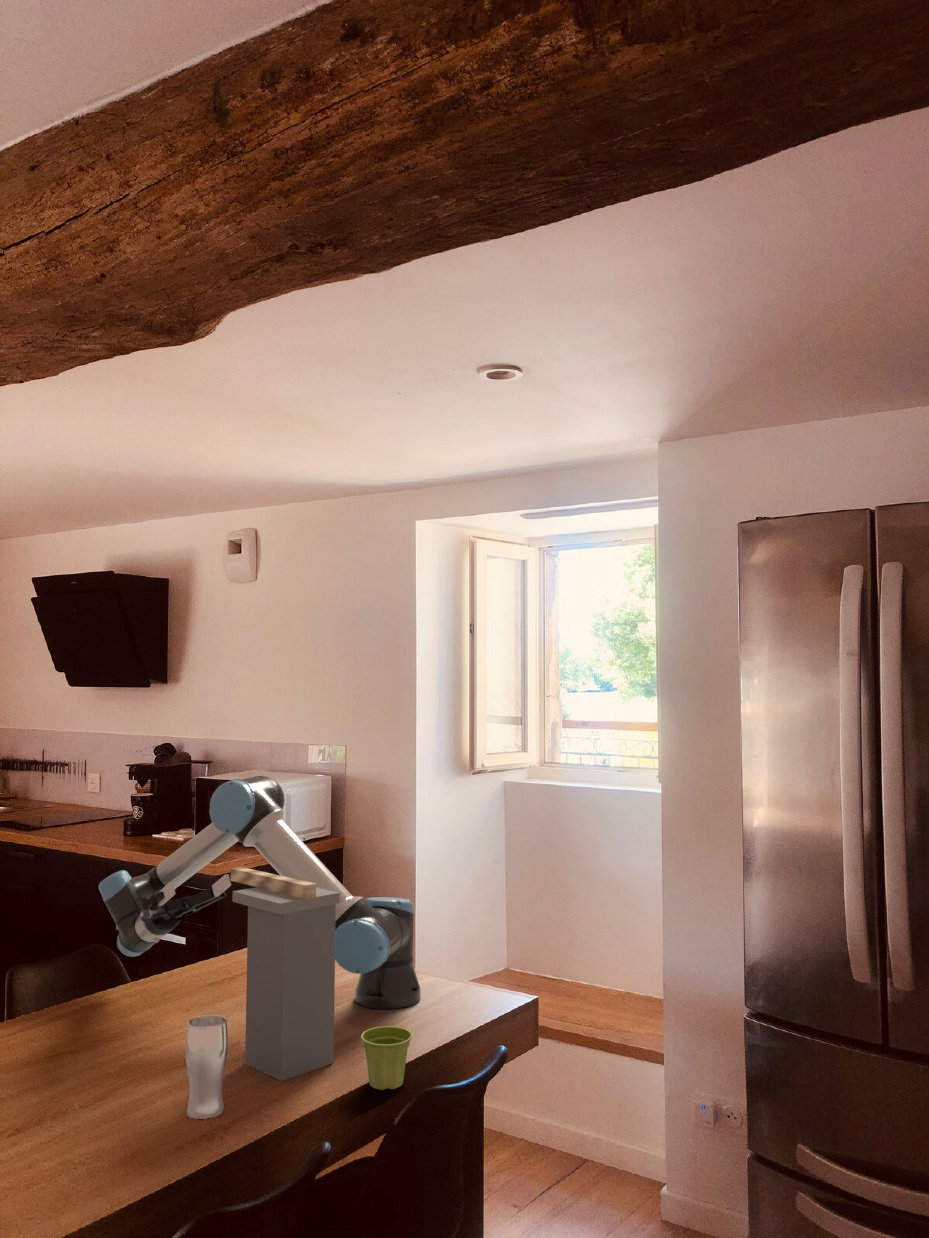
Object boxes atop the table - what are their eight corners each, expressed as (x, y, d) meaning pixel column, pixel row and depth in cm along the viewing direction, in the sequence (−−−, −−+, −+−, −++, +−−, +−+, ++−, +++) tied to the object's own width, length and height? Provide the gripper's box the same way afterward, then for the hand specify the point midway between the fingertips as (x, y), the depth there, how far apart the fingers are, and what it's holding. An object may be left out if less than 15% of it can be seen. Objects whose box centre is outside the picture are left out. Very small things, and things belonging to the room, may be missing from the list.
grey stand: (229, 1059, 187) (232, 891, 189) (289, 1041, 197) (291, 881, 199) (276, 1082, 176) (279, 903, 178) (337, 1061, 186) (339, 892, 188)
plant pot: (422, 1080, 177) (422, 1031, 177) (391, 1098, 169) (391, 1047, 169) (381, 1070, 182) (382, 1022, 182) (349, 1087, 174) (350, 1037, 174)
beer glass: (214, 1122, 159) (217, 1028, 160) (176, 1118, 160) (178, 1026, 162) (233, 1105, 166) (235, 1015, 167) (195, 1101, 167) (198, 1012, 168)
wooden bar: (230, 880, 200) (230, 868, 201) (240, 878, 202) (241, 866, 202) (305, 898, 182) (305, 885, 182) (316, 896, 184) (316, 883, 184)
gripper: (210, 926, 230) (254, 892, 218) (109, 945, 212) (151, 909, 200) (203, 896, 233) (245, 860, 221) (103, 912, 215) (143, 874, 203)
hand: (201, 883), depth 210 cm, fingers open, 13 cm apart
